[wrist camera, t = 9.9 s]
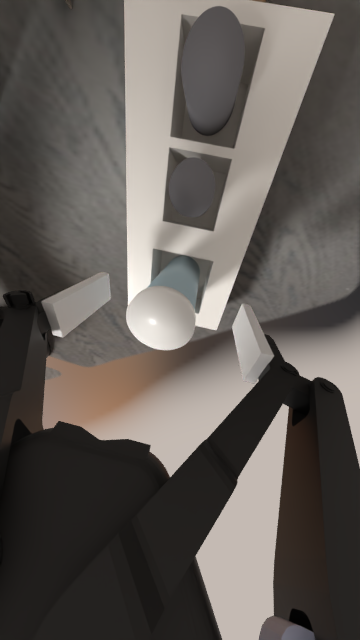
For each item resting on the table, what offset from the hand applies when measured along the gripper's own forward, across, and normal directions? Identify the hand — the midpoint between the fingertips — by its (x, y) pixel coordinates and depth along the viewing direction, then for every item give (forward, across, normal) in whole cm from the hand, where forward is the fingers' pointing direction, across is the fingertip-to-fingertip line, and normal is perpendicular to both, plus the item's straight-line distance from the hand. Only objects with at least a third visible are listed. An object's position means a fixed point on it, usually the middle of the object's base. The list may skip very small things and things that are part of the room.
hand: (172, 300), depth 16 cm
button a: (+9, 0, -9) cm, 13 cm away
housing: (+11, 0, -6) cm, 13 cm away
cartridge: (+10, 0, 0) cm, 10 cm away
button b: (+9, 0, -15) cm, 17 cm away
